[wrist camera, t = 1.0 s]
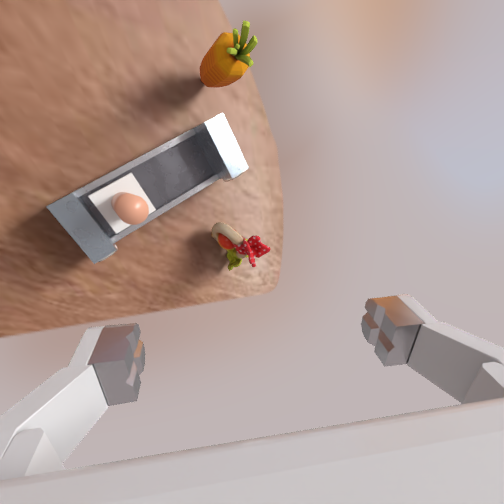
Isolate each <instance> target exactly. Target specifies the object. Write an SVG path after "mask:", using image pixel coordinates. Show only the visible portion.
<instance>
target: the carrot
mask: <svg viewBox="0 0 504 504" xmlns="http://www.w3.org/2000/svg"><path fill="white" fill-rule="evenodd" d="M249 27H250V23H249V22H247V21H243V24H242V30H241V37H240V36H239V34H238V30H237V29H233V33H225V32H224V33H222V34H221V35H220V36H219V37H218V39H217V40H216V41H215V43H214V44H213V45H212V47H211V48H210V49H209V51H208V52H207V54H206V55H205V57H204V58H203V60H202V63H201V66H200V77H201V81H202V82H203V83H204V84H205V85H206V86H207V87H223V86H227V85H230V84H231V83H233V82H235V81H237V80H238V79H240V78H241V77H242V76H243V74H244V73H245V71H246V70H247V68H248V67H251V66H252V65H253V61H252V59H251V58H250V54H249V53H250V52H251V51H252V50H253V49H254V47H255V46H256V44H257V38H256V36H253V37H252V38H251V40H250V41H249V43H248V44H246V41H247V38H248V33H249Z"/></svg>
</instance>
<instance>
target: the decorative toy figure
mask: <svg viewBox="0 0 504 504" xmlns="http://www.w3.org/2000/svg"><path fill="white" fill-rule="evenodd" d="M212 237H213V238H214V239H216V241H217V242H218V243H219V245H220V246H221V247H222V248H224V249H225V250H226V251H227V252H228V253H227V258H228V260H229V261H230V264H229V265H228V269H229V271H230V270H232V268H233V267H238V266H239V265H240V264H241V262H242V258H245V257H249V263H250V264H252V267H255V266H256V263H255V258H254V256H255V257H258V258H259V257H261V256H262V255H264V254H266V253H268V252H269V251H270V247H268V246H266V245H264V244H262V243H261V240H260V237H259V236H252V237H250V238H249V239H248V240H247V239H245V238H244V237H242V236H241V235H240V234H239V233H238V232H237V231H236V230H235V229H233V228H231V227H230V226H228V225H227V224H224V223H221V222H218V223H216V224H215V225H214V226H213V227H212Z"/></svg>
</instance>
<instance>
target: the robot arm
mask: <svg viewBox="0 0 504 504" xmlns="http://www.w3.org/2000/svg"><path fill="white" fill-rule="evenodd" d="M365 309H366V310H367V313H366V314H365V315H364V316H363V318H362V323H361V325H362V332H363V334H364V337H365V339H366V340H367V342H368V343H370V344H372V345H374V346H375V353H376V355H377V356H378V358H379V359H380V360H381V362H382V363H383V365H384V366H392V365H402V364H407V365H408V366H409V367H411V368H412V369H413V370H415V371H416V372H418V373H419V374H421V375H422V376H424V377H425V378H427V379H428V380H429V381H431V382H432V383H434V384H435V385H436V386H438V387H439V388H441V389H442V390H444V391H445V392H446V393H448V394H449V395H451V396H452V397H454V398H455V399H456V400H458V401H459V402H461V404H460V405H454V406H448V407H442V408H436V409H429V410H423V411H418V412H412V413H405V414H399V415H394V416H387V417H382V418H375V419H370V420H364V421H358V422H352V423H346V424H340V425H333V426H328V427H321V428H315V429H309V430H303V431H297V432H291V433H285V434H279V435H273V436H266V437H260V438H254V439H249V440H242V441H236V442H230V443H224V444H218V445H212V446H206V447H200V448H194V449H188V450H182V451H176V452H170V453H163V454H157V455H152V456H145V457H140V458H134V459H127V460H121V461H116V462H110V463H103V464H98V465H91V466H85V467H79V468H73V469H67V470H66V469H65V467H64V466H63V463H64V462H65V460H66V459H67V458H68V457H69V455H70V454H71V453H72V452H73V450H74V449H75V448H76V447H77V446H78V444H79V443H80V442H81V441H82V439H83V438H84V437H85V436H86V434H87V433H88V432H89V431H90V429H91V428H92V427H93V426H94V425H95V423H96V422H97V421H98V419H99V418H100V417H101V416H102V415H103V413H104V412H105V411H106V410H107V408H108V406H110V405H116V404H122V403H128V402H134V401H137V398H138V394H139V389H140V384H141V381H140V377H139V375H140V374H141V373H142V372H143V370H144V364H145V349H144V344H143V342H142V341H141V340H139V337H140V328H139V325H138V324H137V323H132V324H120V325H109V326H99V327H90V328H88V329H87V330H86V331H85V333H84V335H83V336H82V338H81V341H80V342H79V345H78V347H77V349H76V351H75V353H74V355H73V357H72V359H71V361H70V363H69V365H68V367H67V368H62V369H60V370H59V371H58V372H56V373H55V374H54V375H53V376H51V377H50V378H49V379H48V380H46V381H45V382H44V383H42V384H41V385H40V386H38V387H37V388H36V389H35V390H33V391H32V392H31V393H29V394H28V395H27V396H26V397H25V398H23V399H22V400H20V401H19V402H18V403H17V404H15V405H14V406H13V407H11V408H10V409H9V410H8V411H6V412H5V413H4V414H2V415H1V416H0V504H504V348H503V347H500V346H498V345H496V344H493V343H491V342H489V341H487V340H484V339H482V338H480V337H477V336H475V335H473V334H470V333H468V332H466V331H463V330H461V329H459V328H456V327H454V326H452V325H449V324H447V323H445V322H438V321H437V320H436V319H435V318H434V317H433V316H432V315H431V314H430V313H429V312H428V311H427V310H426V309H425V308H423V307H422V306H421V305H420V304H419V303H418V302H417V301H416V300H415V299H414V298H413V297H412V296H410V295H408V294H402V295H395V296H388V297H380V298H371V299H368V300H367V302H366V304H365Z"/></svg>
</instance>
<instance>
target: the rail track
mask: <svg viewBox="0 0 504 504" xmlns="http://www.w3.org/2000/svg"><path fill="white" fill-rule="evenodd" d="M247 169H248V166H247V163H246V161H245V159H244V157H243V155H242V153H241V150H240V148H239V146H238V144H237V142H236V140H235V138H234V135H233V133H232V131H231V129H230V127H229V125H228V123H227V120H226V118H225V116H224V114H223V113H221V114H219V115H217V116H216V117H214V118H212V119H210V120H208V121H206V122H204V123H202V124H200V125H199V126H197V127H195V128H193V129H191V130H189V131H187V132H185V133H184V134H182V135H180V136H178V137H176V138H174V139H172V140H170V141H168V142H167V143H165V144H163V145H161V146H159V147H157V148H155V149H153V150H152V151H150V152H148V153H146V154H144V155H142V156H140V157H138V158H136V159H135V160H133V161H131V162H129V163H127V164H125V165H123V166H121V167H120V168H118V169H116V170H114V171H112V172H110V173H108V174H106V175H104V176H103V177H101V178H99V179H97V180H95V181H93V182H91V183H89V184H88V185H86V186H84V187H82V188H80V189H78V190H76V191H74V192H72V193H71V194H69V195H67V196H65V197H63V198H61V199H59V200H57V201H56V202H54V203H52V204H50V205H48V206H46V207H47V208H48V209H49V211H50V212H51V213H52V214H53V215H54V217H55V218H56V219H57V220H58V221H59V223H60V224H61V225H62V226H63V227H64V228H65V230H66V231H67V232H68V233H69V234H70V236H71V237H72V238H73V239H74V240H75V242H76V243H77V244H78V245H79V246H80V248H81V249H82V250H83V251H84V252H85V253H86V255H87V256H88V257H89V258H90V259H91V261H92V262H93V263H94V264H95V263H97V262H100V261H102V260H104V259H106V258H108V257H109V256H111V255H112V254H114V253H115V252H116V251H117V250H118V247H117V246H116V245H115V242H117V241H118V240H120V239H122V238H123V237H125V236H127V235H128V234H130V233H131V232H133V231H135V230H136V229H138V228H140V227H141V226H143V225H145V224H146V223H148V222H149V221H151V220H153V219H154V218H156V217H158V216H159V215H161V214H163V213H164V212H166V211H167V210H169V209H171V208H172V207H174V206H176V205H177V204H179V203H181V202H182V201H184V200H185V199H187V198H189V197H190V196H192V195H194V194H195V193H197V192H199V191H200V190H202V189H203V188H205V187H207V186H208V185H210V184H212V183H213V182H215V181H217V180H218V179H223V180H224V182H227V181H230V180H233V179H235V178H236V177H238V176H240V175H241V174H242V173H243V171H245V170H247ZM129 173H132V174H133V176H134V177H135V179H136V180H137V182H138V183H139V185H140V186H141V188H142V189H143V191H144V192H145V194H146V195H147V197H148V198H149V200H150V201H151V203H152V205H153V206H154V208H155V209H156V210H155V211H154V212H152V213H150V214H149V215H148V216H147V218H146V220H145V221H143V222H142V223H140V224H137V225H130V226H129V227H127V228H125V229H124V230H122V231H120V232H119V233H117V234H116V233H115V231H114V230H113V229H112V227H111V226H110V225H109V223H108V222H107V221H106V219H105V218H104V217H103V215H102V214H101V213H100V211H99V210H98V209H97V207H96V206H95V205H94V203H93V202H92V201H91V200H90V198H89V197H88V195H90V194H92V193H94V192H96V191H98V190H99V189H101V188H103V187H105V186H107V185H109V184H110V183H112V182H114V181H116V180H118V179H120V178H121V177H123V176H125V175H127V174H129Z"/></svg>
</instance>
